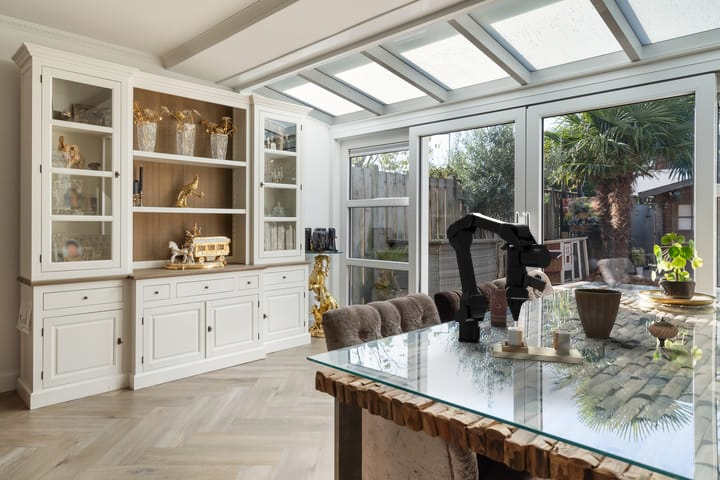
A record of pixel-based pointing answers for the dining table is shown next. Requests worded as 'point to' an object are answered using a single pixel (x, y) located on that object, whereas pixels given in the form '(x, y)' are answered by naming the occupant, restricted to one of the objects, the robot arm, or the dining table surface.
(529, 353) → the cream wooden stand
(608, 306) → the plant pot
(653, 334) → the lidded footed bowl
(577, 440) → the dining table surface
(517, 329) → the white wood-topped block
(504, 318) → the brown rounded cylinder
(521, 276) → the robot arm
